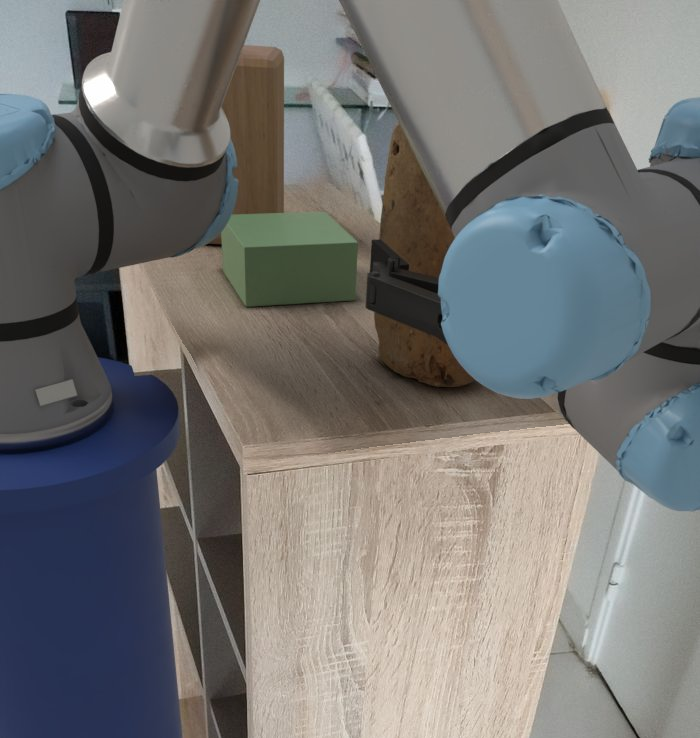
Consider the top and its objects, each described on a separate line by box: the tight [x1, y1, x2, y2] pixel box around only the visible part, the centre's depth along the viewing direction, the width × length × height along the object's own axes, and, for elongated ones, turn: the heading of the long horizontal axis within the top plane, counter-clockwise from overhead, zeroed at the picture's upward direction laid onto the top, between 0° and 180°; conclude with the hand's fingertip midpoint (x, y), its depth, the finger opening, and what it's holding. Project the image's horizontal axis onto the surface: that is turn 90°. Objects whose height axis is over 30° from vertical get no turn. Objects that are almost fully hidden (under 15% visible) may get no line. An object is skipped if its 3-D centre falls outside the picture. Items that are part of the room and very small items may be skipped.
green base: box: [221, 211, 359, 308], centre depth 97 cm, size 12×12×6 cm
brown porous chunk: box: [373, 122, 476, 388], centre depth 76 cm, size 11×8×20 cm
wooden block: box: [207, 44, 285, 246], centre depth 106 cm, size 10×10×20 cm
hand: (452, 253), depth 74 cm, fingers open, 13 cm apart
